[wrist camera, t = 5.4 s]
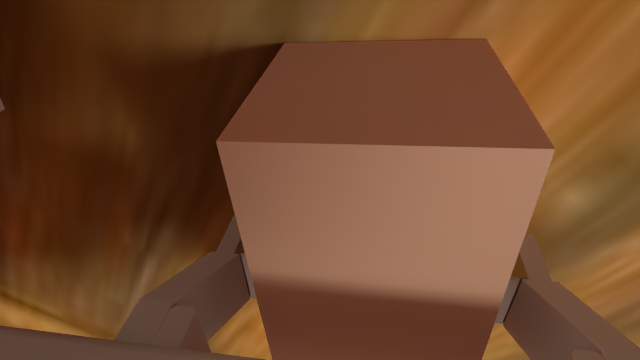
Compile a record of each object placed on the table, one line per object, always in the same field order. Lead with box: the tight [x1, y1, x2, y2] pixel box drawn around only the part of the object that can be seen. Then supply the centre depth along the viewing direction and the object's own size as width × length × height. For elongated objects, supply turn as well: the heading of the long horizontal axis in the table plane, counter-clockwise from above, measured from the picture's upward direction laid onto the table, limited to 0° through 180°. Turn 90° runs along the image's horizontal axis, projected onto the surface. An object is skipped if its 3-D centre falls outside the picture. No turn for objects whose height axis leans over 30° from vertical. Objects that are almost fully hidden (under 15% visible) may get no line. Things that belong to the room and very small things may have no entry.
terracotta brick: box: [216, 39, 555, 360], centre depth 11 cm, size 5×10×5 cm, turn 3°
